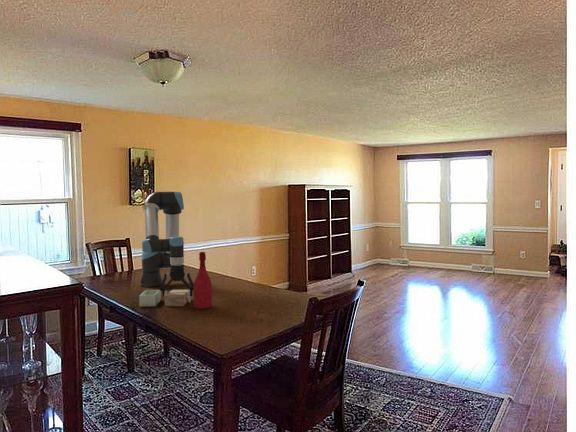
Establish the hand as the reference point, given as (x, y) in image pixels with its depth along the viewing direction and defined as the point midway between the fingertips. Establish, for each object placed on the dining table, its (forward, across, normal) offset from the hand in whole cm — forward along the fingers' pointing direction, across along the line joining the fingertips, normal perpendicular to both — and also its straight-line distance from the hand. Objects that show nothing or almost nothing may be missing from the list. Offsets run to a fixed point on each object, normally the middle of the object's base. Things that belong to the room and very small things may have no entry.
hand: (177, 302), depth 240 cm
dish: (0, -15, 0) cm, 15 cm away
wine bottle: (0, +16, -11) cm, 19 cm away
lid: (+1, 0, 0) cm, 1 cm away
